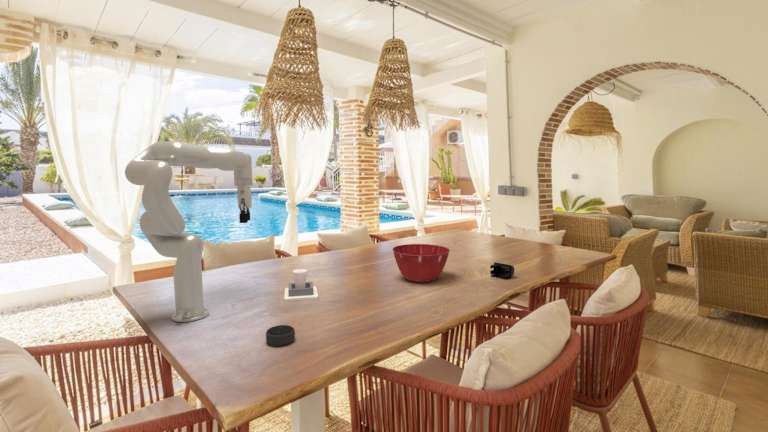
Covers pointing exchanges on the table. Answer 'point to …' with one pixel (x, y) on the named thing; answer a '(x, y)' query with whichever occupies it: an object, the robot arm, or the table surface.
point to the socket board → (300, 292)
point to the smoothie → (300, 277)
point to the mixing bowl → (420, 261)
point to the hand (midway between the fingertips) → (245, 221)
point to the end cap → (502, 271)
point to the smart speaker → (280, 335)
